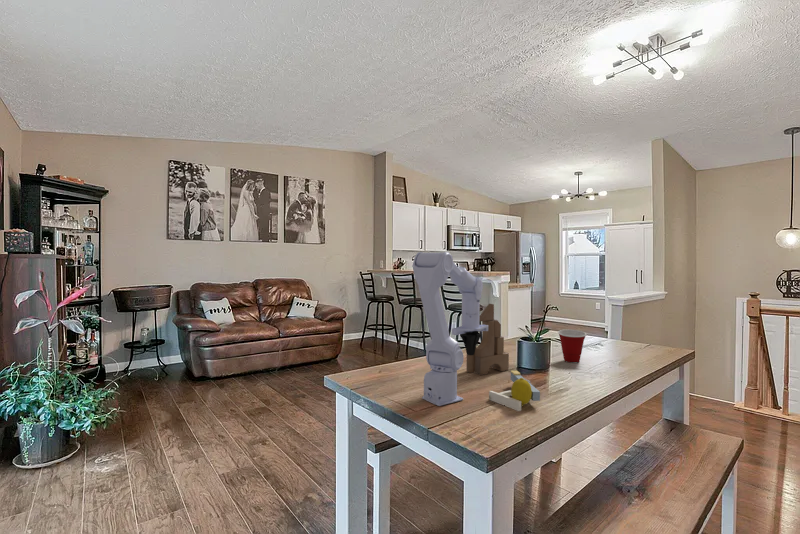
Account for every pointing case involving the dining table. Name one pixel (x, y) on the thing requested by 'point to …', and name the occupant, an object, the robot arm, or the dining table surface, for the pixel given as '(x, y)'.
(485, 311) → the wooden toy
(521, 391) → the lemon
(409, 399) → the dining table surface
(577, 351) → the plastic cup
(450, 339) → the robot arm
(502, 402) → the cream l-shaped bracket
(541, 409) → the dining table surface
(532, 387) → the lever
